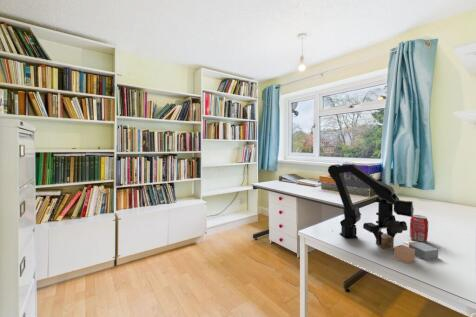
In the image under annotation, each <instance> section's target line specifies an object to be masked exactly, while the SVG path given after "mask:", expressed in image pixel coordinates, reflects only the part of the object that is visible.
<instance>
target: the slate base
mask: <svg viewBox="0 0 476 317" xmlns="http://www.w3.org/2000/svg"><path fill="white" fill-rule="evenodd" d="M408 247H410V248H412V249H415V256H416V257H417V258H420V259H421V260H424V261H428V260H435V259H438V258H439V249H438V248H435V247H434V246H432V245H430V244H427V243H425V242H419V243H413V244H409V245H408Z"/></svg>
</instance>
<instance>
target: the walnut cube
mask: <svg viewBox="0 0 476 317" xmlns="http://www.w3.org/2000/svg"><path fill="white" fill-rule="evenodd" d="M394 242H395V237H394V238H393V237H391V236H389V235H388V234H387V232H386V233H383V234H382V235H381V245H379V244H378V242H377V240H376V239H375V245H377V246H378V247H380V248H381V249H384V250H385V249H395V246H394Z"/></svg>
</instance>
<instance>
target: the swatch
mask: <svg viewBox="0 0 476 317" xmlns="http://www.w3.org/2000/svg"><path fill="white" fill-rule="evenodd" d="M413 243H420V242H419V241H415V240H411V241H403V244H405V245H406V246H409V244H413Z"/></svg>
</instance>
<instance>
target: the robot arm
mask: <svg viewBox="0 0 476 317" xmlns="http://www.w3.org/2000/svg"><path fill="white" fill-rule="evenodd" d="M327 172H328V175H329V176H330V178H331V180H333V181H334V183H335V186H336V189H337V191H338V193H339V197H340V199H341V203H342V205H343V215H344V216H343V217H344V219H342V220H340V222H339V223H340V227H341V231H340V232H339V235H340V236H342V237H344V238H345V239H346V238H347V239H348V240H349V239H358V238H359V237H358V235H357V232H358V231H357V225H356V224H357V223H358V222H359V221H360V220H361V218H362V213H361V212H360V208H359V207H355V205H354V204H353V201H352V198H351V195H350V192H349V190H348V187H347V185H346V182H345V173H351V174H352V175H354V176H355V177H357V179H358V180H360V181H361V182H363V183H365V184H366V185H367V186H369V187H370V189H372V191H373V193H375V194H376V195H377V197H376V198H375V199H373V202H374V203H377V204H378V205H377V206H378V207H377V208H378V211H377V212H375V214H376V215H377V220H375V223H373V222H364V223H363V225H362V229H364V230H366V231H368V233H370V234H371V233H372V234H373V236H374V238H375V241H376V240H377V242H378V244H379V245H381V235H382V234H384V232H382V229H384V230H385V229H386V234H388V235H389V236H391V237H393V238H394V239H395V237H396V236H397V234H402V233H403V231H408V225H407V222H406V221H405V220H402V221H401V220H396V215H398V216H404V217H409V218H411V217H413V215H414V210H415V208H414V204H413V201H411V200H402V199H400V198H399V197H398V195H397V194H396V193H395V188H393V186H392V185H388V184H387V183H385V182H383V181H379V180H378V179H376V178H375V177H373V176H372V175H370V174H369V173H367V172H366V171H364V170H363V169H361V167H358V165H356V164H355V163H351V164H345V165H341V164H340V163H337V164H331V165H329V167H328V169H327ZM393 212H394V213H395V214H396V215H393V214H394V213H393Z"/></svg>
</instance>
